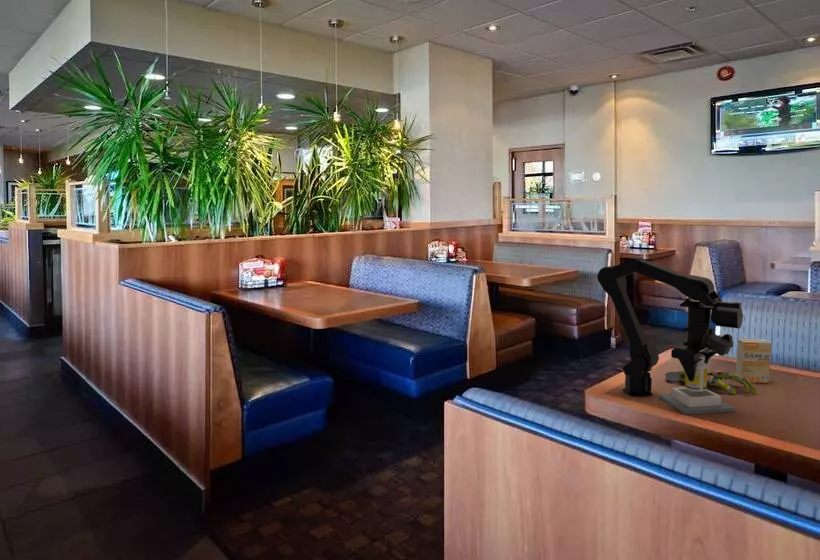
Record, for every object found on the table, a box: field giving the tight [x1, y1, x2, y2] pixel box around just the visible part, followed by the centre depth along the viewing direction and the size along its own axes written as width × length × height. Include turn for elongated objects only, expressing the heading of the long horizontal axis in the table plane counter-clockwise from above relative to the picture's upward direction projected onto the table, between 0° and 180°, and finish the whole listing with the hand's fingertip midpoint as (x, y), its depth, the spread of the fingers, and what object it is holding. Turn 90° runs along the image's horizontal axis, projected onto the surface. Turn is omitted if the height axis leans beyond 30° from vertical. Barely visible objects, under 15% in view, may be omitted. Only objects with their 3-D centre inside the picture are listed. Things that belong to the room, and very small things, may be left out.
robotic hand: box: [665, 370, 759, 396], centre depth 181 cm, size 12×7×25 cm
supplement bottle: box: [684, 354, 708, 392], centre depth 165 cm, size 5×5×10 cm
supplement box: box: [735, 338, 772, 384], centre depth 185 cm, size 8×5×13 cm, turn 80°
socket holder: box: [658, 386, 736, 415], centre depth 166 cm, size 14×14×4 cm
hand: (695, 378), depth 166 cm, fingers closed on supplement bottle, 5 cm apart
